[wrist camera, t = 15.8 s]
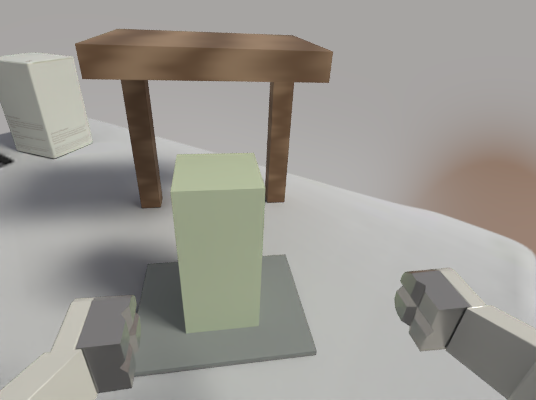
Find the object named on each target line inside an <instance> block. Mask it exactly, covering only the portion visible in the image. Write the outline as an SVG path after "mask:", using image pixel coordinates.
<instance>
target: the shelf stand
mask: <svg viewBox="0 0 536 400" xmlns="http://www.w3.org/2000/svg"><path fill="white" fill-rule="evenodd" d="M75 46H76V51H77V56H78V60H79V65H80V69H81V74H82V79H116V80H119V79H120V80H121V84H122V90H123V96H124V102H125V108H126V114H127V120H128V127H129V133H130V139H131V145H132V151H133V157H134V164H135V170H136V176H137V182H138V188H139V194H140V200H141V207H142V208H155V207H161V203H162V191H161V183H160V175H159V167H158V159H157V151H156V143H155V135H154V127H153V119H152V111H151V103H150V95H149V87H148V80H182V81H188V80H189V81H248V82H249V81H251V82H254V81H255V82H270V97H269V118H268V140H267V161H266V181H265V196H266V199H267V203H269V202H284V199H285V187H286V175H287V162H288V150H289V137H290V126H291V113H292V101H293V89H294V82H315V83H316V82H317V83H329V78H330V71H331V63H332V55H333V52H332V51H330V50H328V49H325V48H323V47H320V46H318V45H315V44H312V43H310V42H308V41H305V40H303V39H300V38H298V37H295V36H293V35H292V36H291V35H267V34H240V33H212V32H187V31H161V30H134V29H116V30H113V31H110V32H107V33H105V34H102V35H99V36H96V37H93V38H90V39H87V40H85V41H82V42H79V43H76V44H75Z"/></svg>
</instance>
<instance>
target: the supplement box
mask: <svg viewBox="0 0 536 400" xmlns="http://www.w3.org/2000/svg"><path fill="white" fill-rule="evenodd" d="M0 103H1V105H2V108H3V111H4V114H5V117H6V120H7V122H8V125H9V128H10V131H11V134H12V137H13V140H14V143H15V146H16V149H17V151H22V152H27V153H31V154H36V155H40V156H45V157H50V158H57V157H60V156H62V155H65V154H67V153H70V152H72V151H75V150H77V149H79V148H82V147H84V146H87V145H89V144H91V143H92V142H93V141H92V136H91V132H90V127H89V123H88V119H87V115H86V110H85V106H84V102H83V98H82V93H81V89H80V84H79V80H78V76H77V71H76V67H75V63H74V58H73V57H72V56H61V55H53V54H43V53H24V54H16V55H8V56H0Z"/></svg>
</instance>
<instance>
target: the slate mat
mask: <svg viewBox="0 0 536 400" xmlns="http://www.w3.org/2000/svg"><path fill="white" fill-rule="evenodd" d="M137 314H138V315H139V317H140V324H141V338H140V346H139V350H138V351H137V352H136V353H135V354H134V356H135V361H136V369H135V374H134V377H136V376H144V375H152V374H160V373H169V372H177V371H185V370H194V369H202V368H210V367H218V366H227V365H235V364H243V363H252V362H260V361H268V360H277V359H285V358H293V357H301V356H310V355H316V348H315V344H314V341H313V338H312V335H311V332H310V329H309V326H308V323H307V320H306V317H305V314H304V310H303V307H302V304H301V301H300V298H299V295H298V292H297V289H296V286H295V283H294V279H293V276H292V273H291V270H290V267H289V264H288V261H287V258H286V255H271V256H262V270H261V291H260V312H259V326H254V327H244V328H234V329H224V330H215V331H205V332H195V333H186V328H185V319H184V310H183V301H182V292H181V282H180V273H179V264H178V262H171V263H156V264H148V265H147V270H146V275H145V280H144V285H143V289H142V294H141V299H140V304H139V309H138V313H137Z"/></svg>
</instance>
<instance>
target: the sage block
mask: <svg viewBox="0 0 536 400" xmlns="http://www.w3.org/2000/svg"><path fill="white" fill-rule="evenodd" d="M171 201H172V210H173V219H174V228H175V237H176V246H177V255H178V264H179V273H180V282H181V292H182V301H183V310H184V319H185V328H186V333H195V332H205V331H215V330H224V329H234V328H244V327H254V326H259V312H260V291H261V270H262V250H263V229H264V208H265V185H264V182H263V179H262V176H261V173H260V170H259V167H258V164H257V161H256V158H255V155H254V153H230V154H178V155H177V157H176V162H175V168H174V174H173V180H172V186H171Z"/></svg>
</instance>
